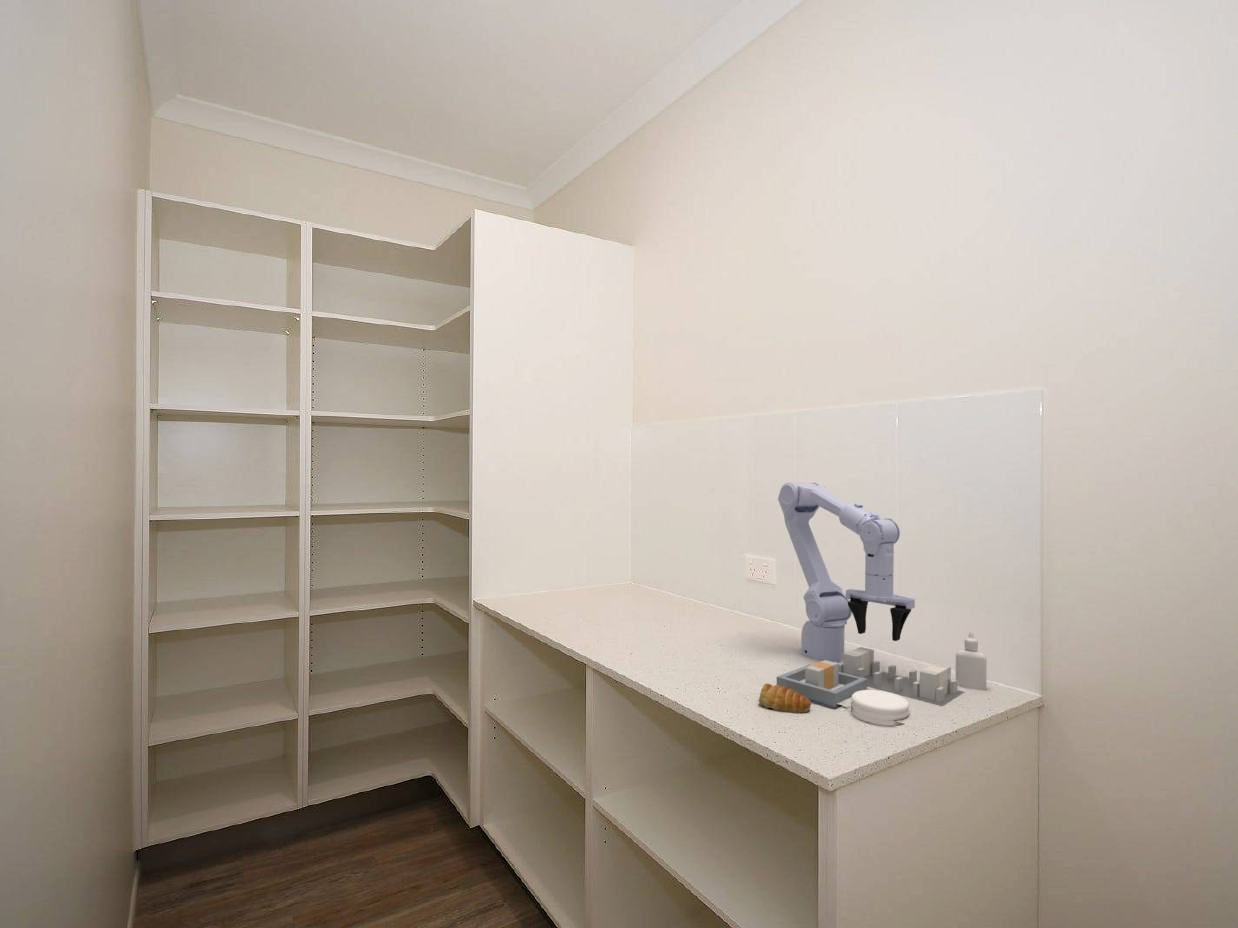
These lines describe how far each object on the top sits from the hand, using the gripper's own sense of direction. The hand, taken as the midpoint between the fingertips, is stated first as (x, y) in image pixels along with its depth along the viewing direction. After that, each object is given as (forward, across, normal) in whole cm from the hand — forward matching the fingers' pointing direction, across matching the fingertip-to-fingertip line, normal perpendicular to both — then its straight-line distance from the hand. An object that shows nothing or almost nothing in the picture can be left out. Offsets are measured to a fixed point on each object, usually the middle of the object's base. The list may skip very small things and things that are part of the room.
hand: (878, 636), depth 139 cm
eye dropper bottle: (+10, +16, +8) cm, 20 cm away
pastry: (+10, -6, -29) cm, 31 cm away
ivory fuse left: (+8, -3, -3) cm, 9 cm away
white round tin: (+10, +10, -20) cm, 24 cm away
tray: (+9, -4, -17) cm, 20 cm away
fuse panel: (+9, +5, -3) cm, 11 cm away
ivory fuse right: (+8, +13, -3) cm, 16 cm away
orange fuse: (+9, -4, -17) cm, 20 cm away
